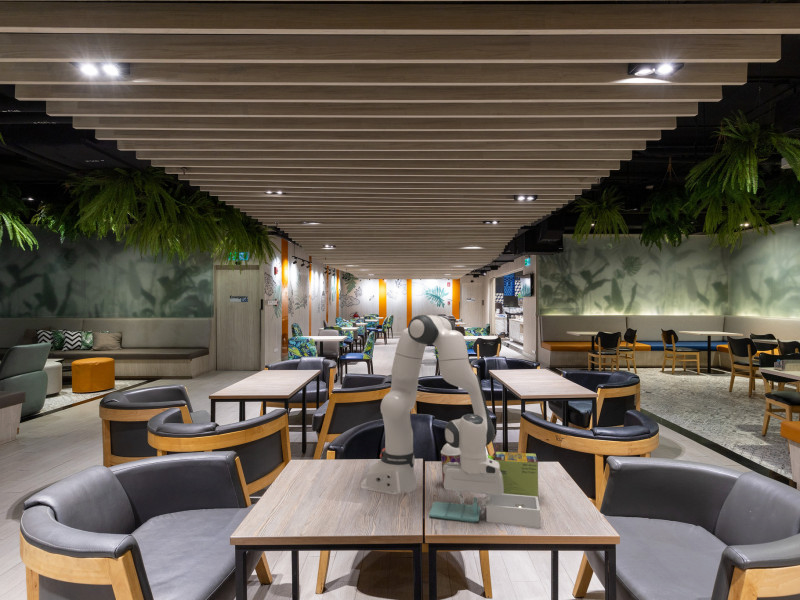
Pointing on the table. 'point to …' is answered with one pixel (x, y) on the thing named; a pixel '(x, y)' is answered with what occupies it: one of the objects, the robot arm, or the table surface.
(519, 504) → the ball
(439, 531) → the table surface
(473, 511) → the lid
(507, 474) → the protein box
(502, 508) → the tub
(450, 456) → the smoothie
